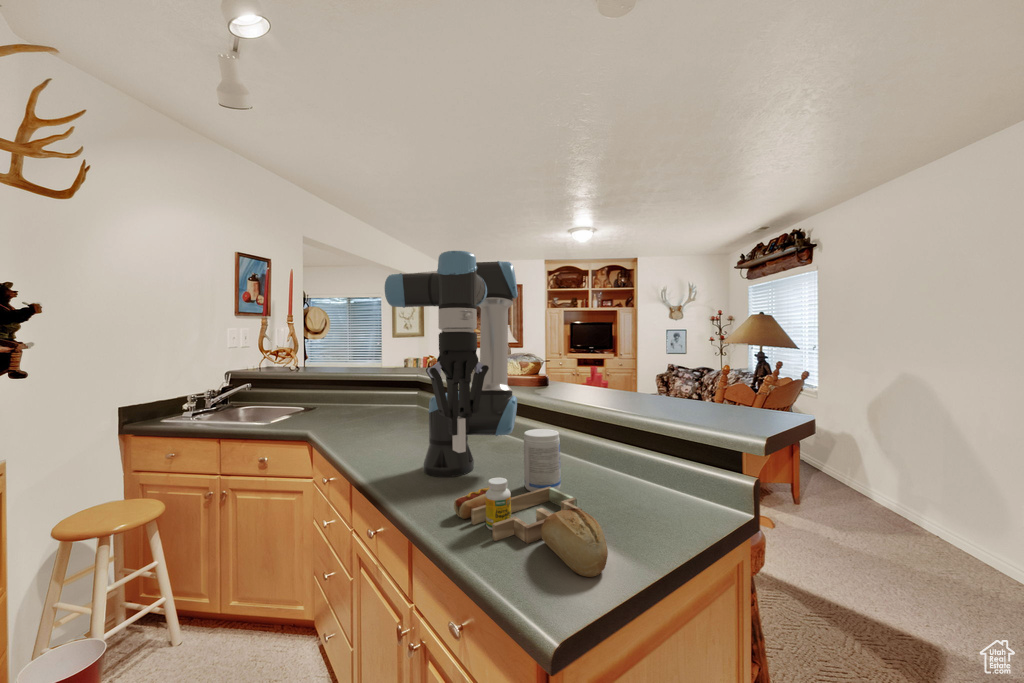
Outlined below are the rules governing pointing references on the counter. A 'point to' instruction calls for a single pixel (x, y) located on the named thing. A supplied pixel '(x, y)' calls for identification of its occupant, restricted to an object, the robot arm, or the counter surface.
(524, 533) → the light wood frame
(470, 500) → the food
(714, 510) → the counter surface
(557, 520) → the bread roll
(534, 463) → the supplement tub
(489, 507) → the supplement bottle
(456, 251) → the robot arm
